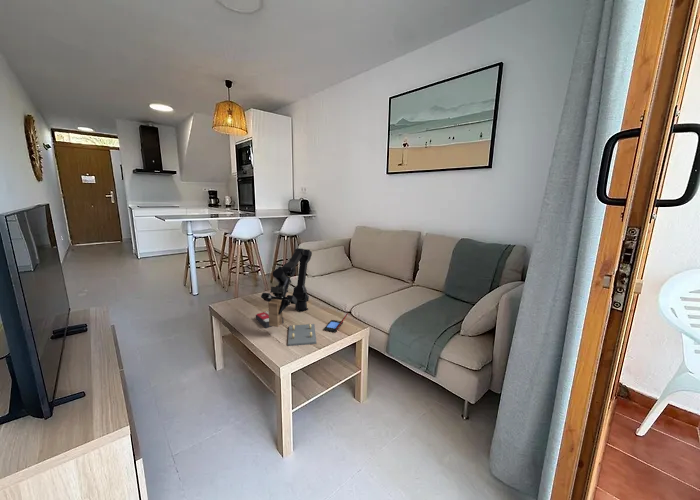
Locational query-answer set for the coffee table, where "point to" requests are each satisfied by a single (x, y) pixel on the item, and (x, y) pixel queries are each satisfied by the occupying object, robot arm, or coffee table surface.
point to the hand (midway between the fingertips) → (274, 313)
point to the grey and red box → (264, 319)
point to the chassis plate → (301, 335)
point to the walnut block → (275, 312)
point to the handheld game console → (334, 325)
